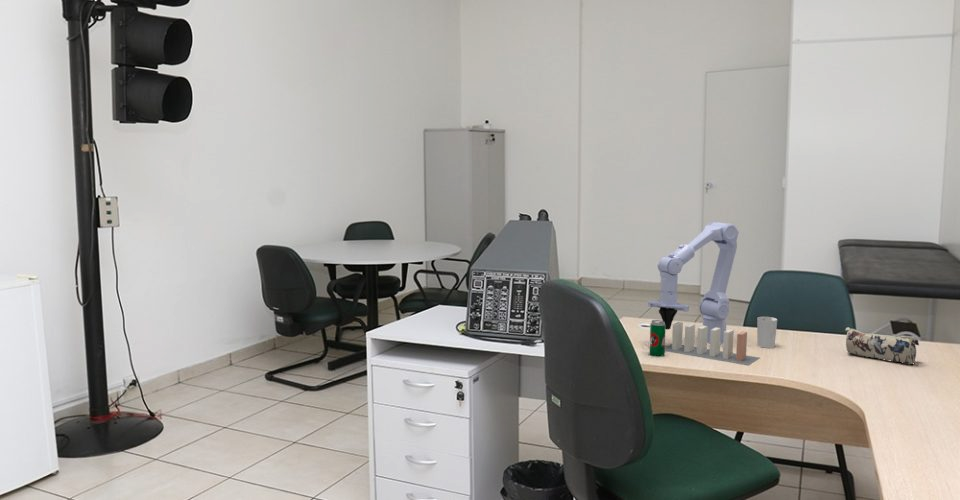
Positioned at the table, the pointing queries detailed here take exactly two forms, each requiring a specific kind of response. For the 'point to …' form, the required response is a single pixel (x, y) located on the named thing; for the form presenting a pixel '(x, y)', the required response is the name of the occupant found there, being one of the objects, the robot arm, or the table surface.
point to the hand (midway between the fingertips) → (667, 328)
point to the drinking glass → (766, 331)
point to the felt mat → (732, 359)
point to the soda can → (657, 338)
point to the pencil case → (881, 346)
